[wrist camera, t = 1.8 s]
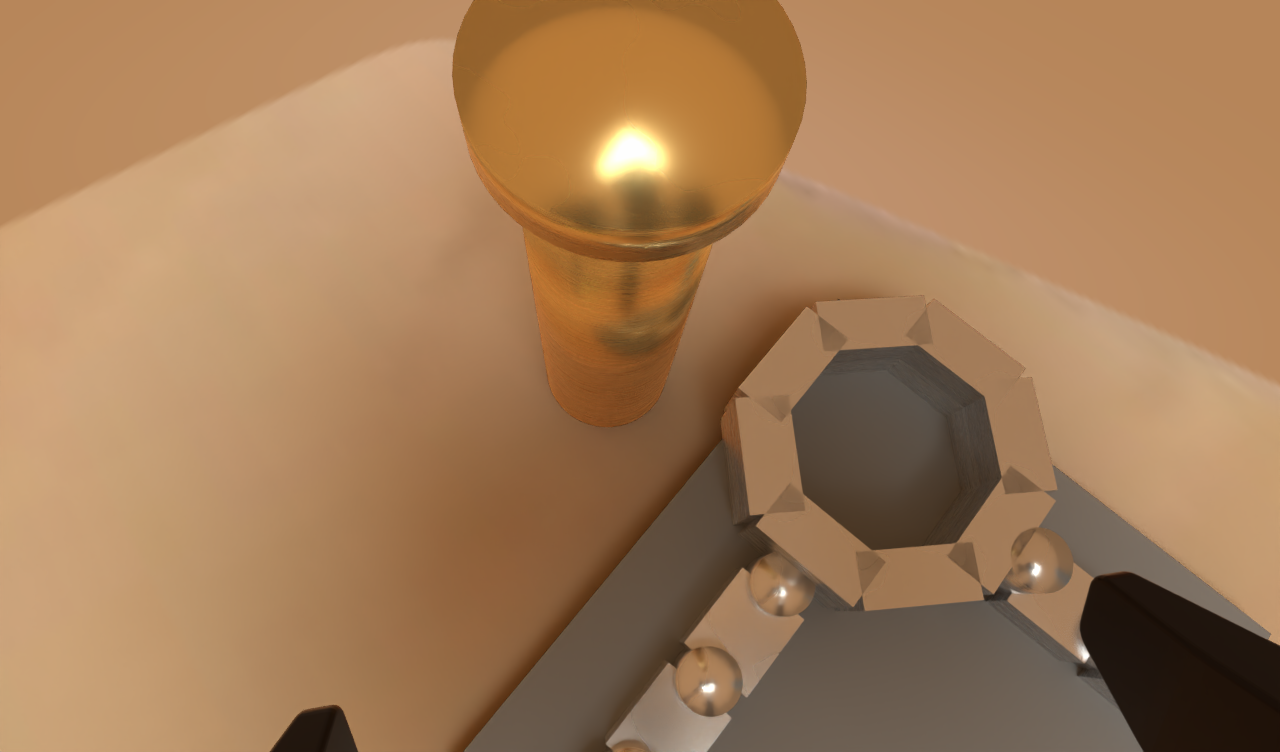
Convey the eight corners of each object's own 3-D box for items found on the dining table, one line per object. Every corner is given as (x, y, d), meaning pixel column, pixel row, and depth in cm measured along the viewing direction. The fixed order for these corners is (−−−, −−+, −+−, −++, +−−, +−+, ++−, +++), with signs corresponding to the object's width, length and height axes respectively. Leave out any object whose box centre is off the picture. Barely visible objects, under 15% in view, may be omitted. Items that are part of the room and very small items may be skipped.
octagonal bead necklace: (933, 1227, 18) (983, 1316, 16) (434, 754, 20) (415, 772, 18) (1272, 614, 23) (1350, 614, 20) (834, 277, 25) (860, 242, 22)
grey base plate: (916, 1215, 19) (933, 1247, 18) (447, 770, 21) (441, 778, 20) (1242, 633, 23) (1270, 633, 22) (828, 310, 25) (838, 298, 24)
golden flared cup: (615, 480, 23) (654, 302, 10) (493, 376, 24) (376, 77, 11) (718, 361, 25) (875, 60, 11) (598, 265, 25) (612, -128, 12)
